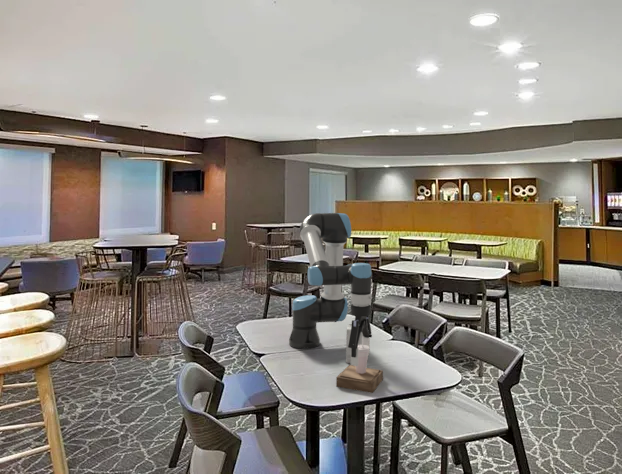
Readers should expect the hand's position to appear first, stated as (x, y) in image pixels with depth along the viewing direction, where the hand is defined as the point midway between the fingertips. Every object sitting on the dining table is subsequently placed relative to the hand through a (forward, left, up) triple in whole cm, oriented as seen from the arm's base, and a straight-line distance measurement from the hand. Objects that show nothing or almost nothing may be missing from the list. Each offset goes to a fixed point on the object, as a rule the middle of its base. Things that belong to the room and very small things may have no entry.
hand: (360, 359), depth 166 cm
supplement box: (-23, -9, -9) cm, 26 cm away
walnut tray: (0, 0, -9) cm, 9 cm away
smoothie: (-1, 0, -5) cm, 5 cm away
